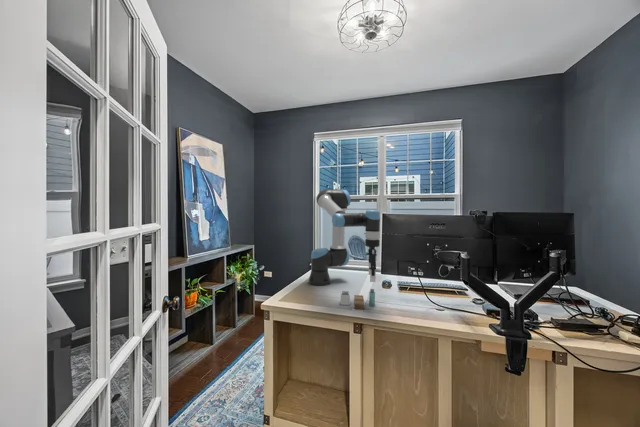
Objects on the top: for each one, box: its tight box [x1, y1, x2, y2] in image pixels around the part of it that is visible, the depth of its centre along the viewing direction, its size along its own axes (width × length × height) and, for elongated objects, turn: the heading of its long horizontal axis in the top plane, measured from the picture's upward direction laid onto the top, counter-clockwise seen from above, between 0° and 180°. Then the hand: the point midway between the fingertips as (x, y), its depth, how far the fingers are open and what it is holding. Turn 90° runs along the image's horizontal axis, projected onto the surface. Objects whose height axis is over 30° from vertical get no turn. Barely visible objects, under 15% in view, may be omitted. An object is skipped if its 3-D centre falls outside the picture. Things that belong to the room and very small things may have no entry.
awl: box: [368, 288, 376, 307], centre depth 145 cm, size 3×3×8 cm
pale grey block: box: [340, 290, 351, 306], centre depth 148 cm, size 5×5×6 cm
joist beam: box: [353, 294, 365, 310], centre depth 146 cm, size 14×5×2 cm, turn 174°
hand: (371, 278), depth 145 cm, fingers open, 13 cm apart
